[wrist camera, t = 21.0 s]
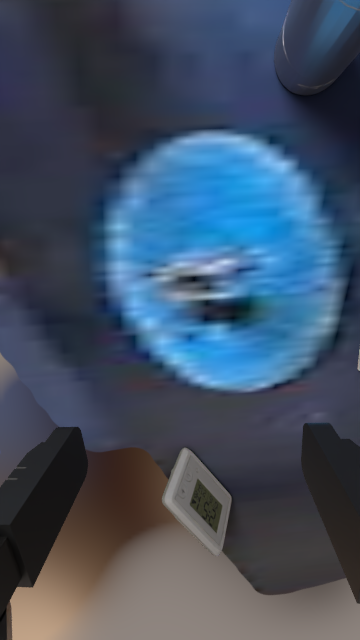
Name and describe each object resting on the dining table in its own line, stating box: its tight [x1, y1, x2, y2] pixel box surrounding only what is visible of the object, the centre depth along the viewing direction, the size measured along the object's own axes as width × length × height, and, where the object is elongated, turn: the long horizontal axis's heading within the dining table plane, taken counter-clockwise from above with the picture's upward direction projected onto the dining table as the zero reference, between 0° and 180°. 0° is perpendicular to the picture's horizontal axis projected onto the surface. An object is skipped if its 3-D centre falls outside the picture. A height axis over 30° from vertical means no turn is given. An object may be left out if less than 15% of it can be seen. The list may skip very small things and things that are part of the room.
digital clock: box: [162, 448, 231, 556], centre depth 51 cm, size 16×9×11 cm, turn 26°
